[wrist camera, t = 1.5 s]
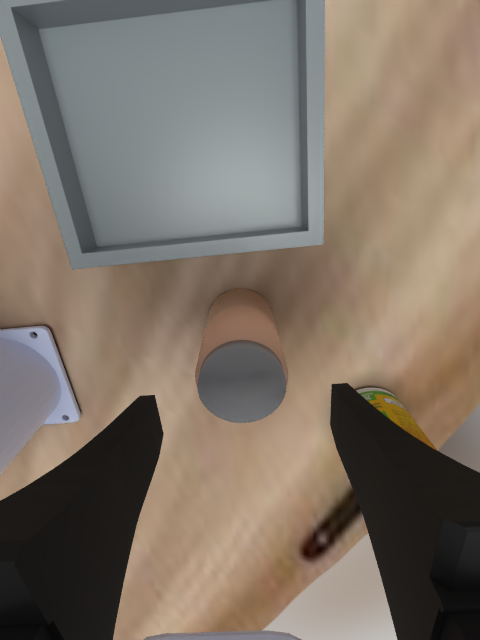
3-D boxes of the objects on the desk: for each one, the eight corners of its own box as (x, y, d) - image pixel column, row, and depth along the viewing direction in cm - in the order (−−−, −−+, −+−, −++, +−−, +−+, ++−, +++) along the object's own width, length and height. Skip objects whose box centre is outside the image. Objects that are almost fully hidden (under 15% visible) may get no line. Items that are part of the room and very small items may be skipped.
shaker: (212, 350, 23) (200, 429, 15) (204, 291, 21) (185, 348, 13) (274, 344, 22) (292, 422, 15) (270, 285, 21) (289, 339, 13)
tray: (91, 260, 20) (72, 269, 18) (22, 15, 15) (-16, -16, 13) (313, 238, 19) (323, 244, 17) (311, -22, 15) (325, -60, 13)
